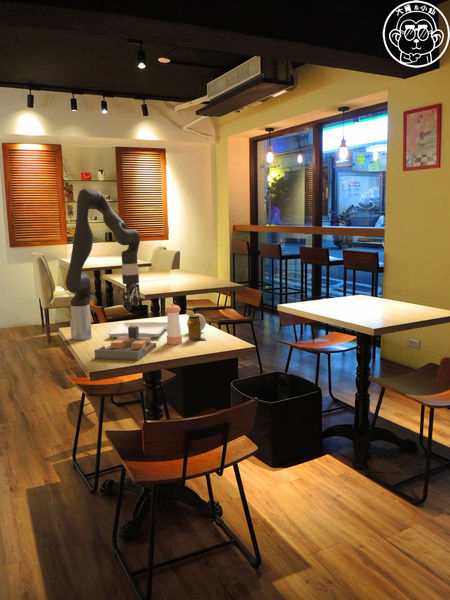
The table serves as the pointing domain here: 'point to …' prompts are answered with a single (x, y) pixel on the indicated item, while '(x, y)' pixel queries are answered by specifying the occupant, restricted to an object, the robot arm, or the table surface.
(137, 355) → the box
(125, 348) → the board
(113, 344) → the tile left
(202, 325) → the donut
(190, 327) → the condiment
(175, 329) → the pepper shaker
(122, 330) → the square plate
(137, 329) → the gray bar with block
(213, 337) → the table surface
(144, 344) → the tile right
